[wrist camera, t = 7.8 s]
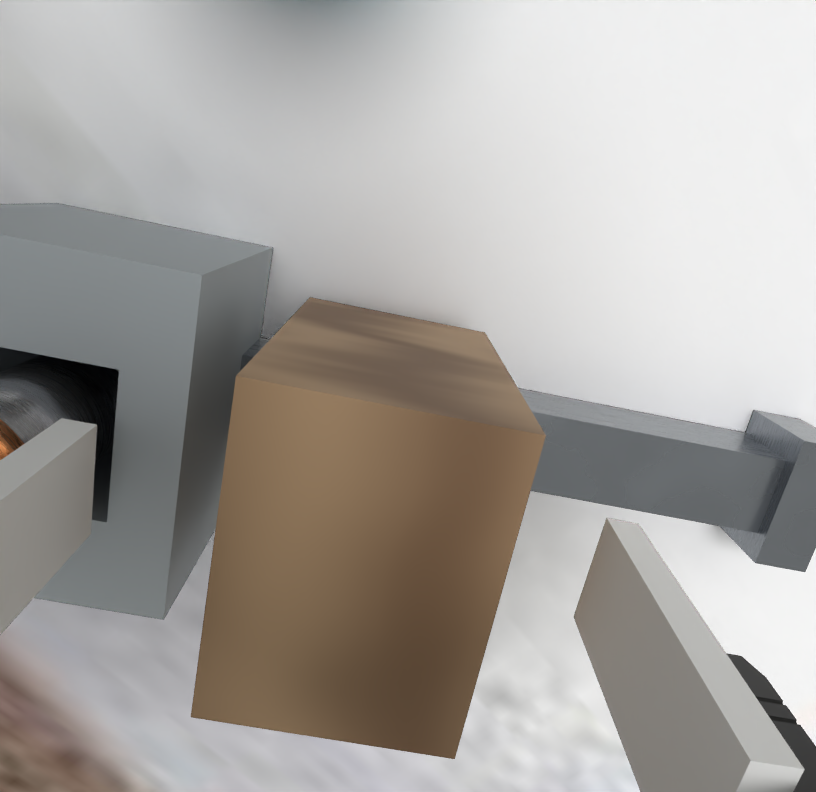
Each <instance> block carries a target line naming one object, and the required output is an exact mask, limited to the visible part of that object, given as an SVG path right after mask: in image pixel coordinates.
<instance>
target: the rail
mask: <svg viewBox="0 0 816 792" xmlns="http://www.w3.org/2000/svg"><path fill="white" fill-rule="evenodd" d="M269 340H270V339H266V338H261V337H260V338H259V339H258V340H257V341H256V342H255V343H254V344H253V345H252V346H251V347H250V348H249V349H248V350H247V351H246V352H245V353H244V354H243V355H242V360H241V368H240V371H241V370H242V369H243V368H244V367H245V366H246V365H247V364H248V362H249V361H250V360H251V359H252V358H253V357H254V356H255V355H256V354H257V353H258V352H259V351H260V350H261V349H262V348H263V347H264V346H265V344H266V343H267V342H268V341H269ZM518 389H519V391H520V393H521V394H522V396H523V398H524V399H525V401H526V403H527V404H528V406H529V408H530V409H531V411H532V413H533V415H534V416H535V418H536V420H537V421H538V423H539V425H540V426H541V428H542V430H543V431H544V433H545V435H546V437H545V441H544V444H543V448H542V451H541V455H540V458H539V462H538V465H537V469H536V472H535V476H534V480H533V483H532V487H531V490H530V491H535V492H540V493H546V494H551V495H556V496H562V497H567V498H572V499H578V500H583V501H589V502H594V503H599V504H605V505H610V506H615V507H621V508H626V509H631V510H637V511H642V512H647V513H653V514H658V515H664V516H669V517H674V518H680V519H685V520H690V521H696V522H701V523H706V524H712V525H717V526H720V527H721V528H722V529H723V530H724V531H725V532H726V533H727V534H728V535H729V536H730V537H731V538H732V539H733V540H734V541H735V543H736V544H737V545H738V546H739V547H740V548H741V549H742V550H743V551H744V552H745V553H746V554H747V555H748V556H749V557H750V558H751V559H752V560H753V561H754V562H755V563H758V564H764V565H769V566H774V567H780V568H785V569H791V570H796V571H802V572H805V571H806V569H807V567H808V564H809V562H810V560H811V557H812V555H813V553H814V550H815V548H816V428H815V427H813V426H812V425H810V424H808V423H806V422H804V421H803V420H801V419H797V418H791V417H786V416H781V415H776V414H771V413H766V412H761V411H756V410H754V412H753V414H752V417H751V419H750V422H749V425H748V427H747V430H746V433H744V432H739V431H734V430H729V429H724V428H719V427H714V426H708V425H703V424H698V423H693V422H688V421H683V420H678V419H673V418H668V417H663V416H658V415H653V414H647V413H642V412H637V411H632V410H627V409H622V408H617V407H612V406H607V405H602V404H597V403H592V402H586V401H581V400H576V399H571V398H566V397H561V396H556V395H551V394H546V393H541V392H536V391H530V390H525V389H520V388H518Z"/></svg>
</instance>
